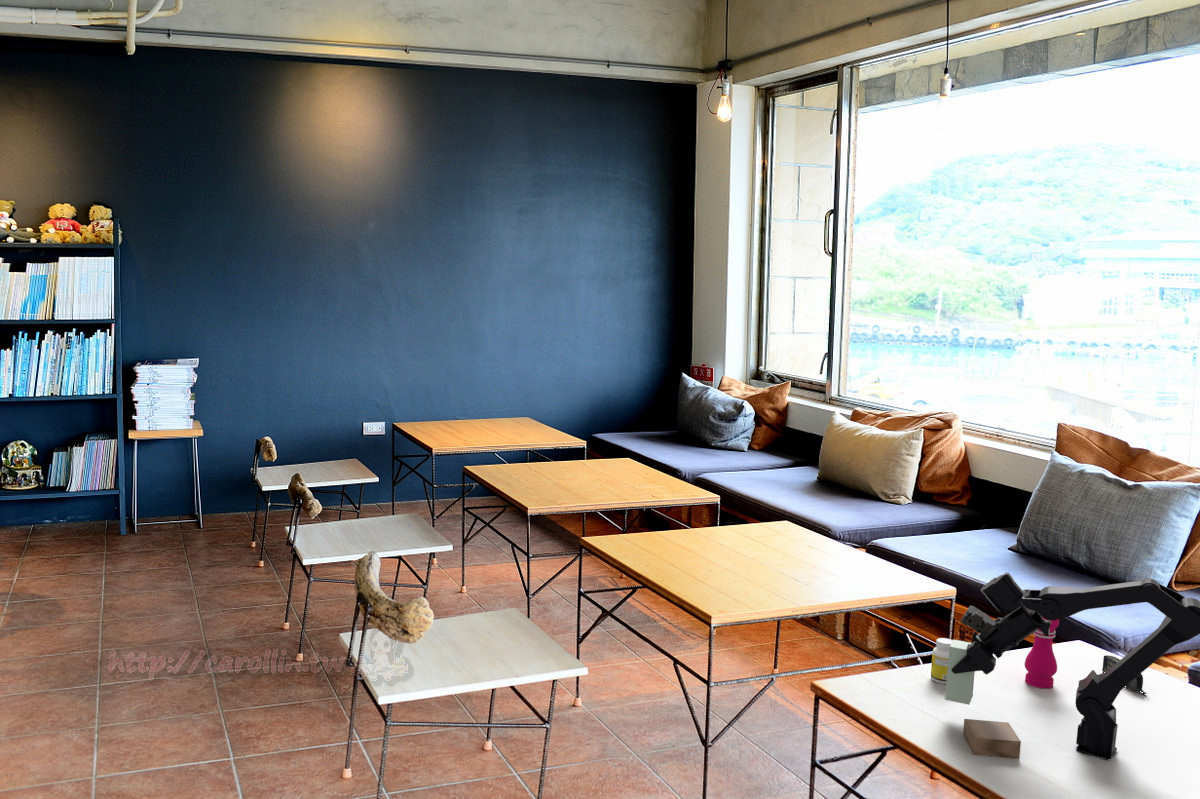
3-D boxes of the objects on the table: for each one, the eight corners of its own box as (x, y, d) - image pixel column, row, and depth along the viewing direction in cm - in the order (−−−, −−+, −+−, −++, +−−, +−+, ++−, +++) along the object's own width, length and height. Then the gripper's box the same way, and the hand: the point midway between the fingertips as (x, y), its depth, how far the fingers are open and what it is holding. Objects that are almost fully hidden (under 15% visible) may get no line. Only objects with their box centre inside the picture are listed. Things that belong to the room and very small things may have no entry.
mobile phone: (1101, 653, 259) (1139, 675, 244) (1112, 653, 259) (1151, 675, 245) (1099, 672, 259) (1137, 696, 245) (1110, 672, 260) (1149, 696, 245)
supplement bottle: (935, 673, 253) (938, 635, 252) (957, 680, 250) (961, 640, 249) (926, 680, 249) (930, 640, 248) (948, 686, 246) (952, 646, 244)
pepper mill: (1027, 675, 255) (1034, 596, 252) (1058, 683, 251) (1066, 603, 248) (1019, 684, 249) (1027, 603, 246) (1051, 692, 245) (1059, 610, 242)
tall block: (972, 696, 228) (977, 644, 226) (969, 704, 223) (974, 651, 222) (948, 691, 230) (953, 639, 228) (945, 699, 225) (949, 646, 224)
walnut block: (1006, 740, 219) (1008, 722, 218) (1019, 760, 210) (1021, 741, 209) (962, 736, 220) (964, 718, 219) (973, 756, 211) (975, 737, 210)
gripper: (992, 586, 230) (937, 625, 236) (981, 609, 213) (921, 650, 220) (1027, 627, 227) (970, 665, 234) (1018, 654, 211) (957, 694, 217)
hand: (954, 667), depth 226 cm, fingers closed on tall block, 5 cm apart
